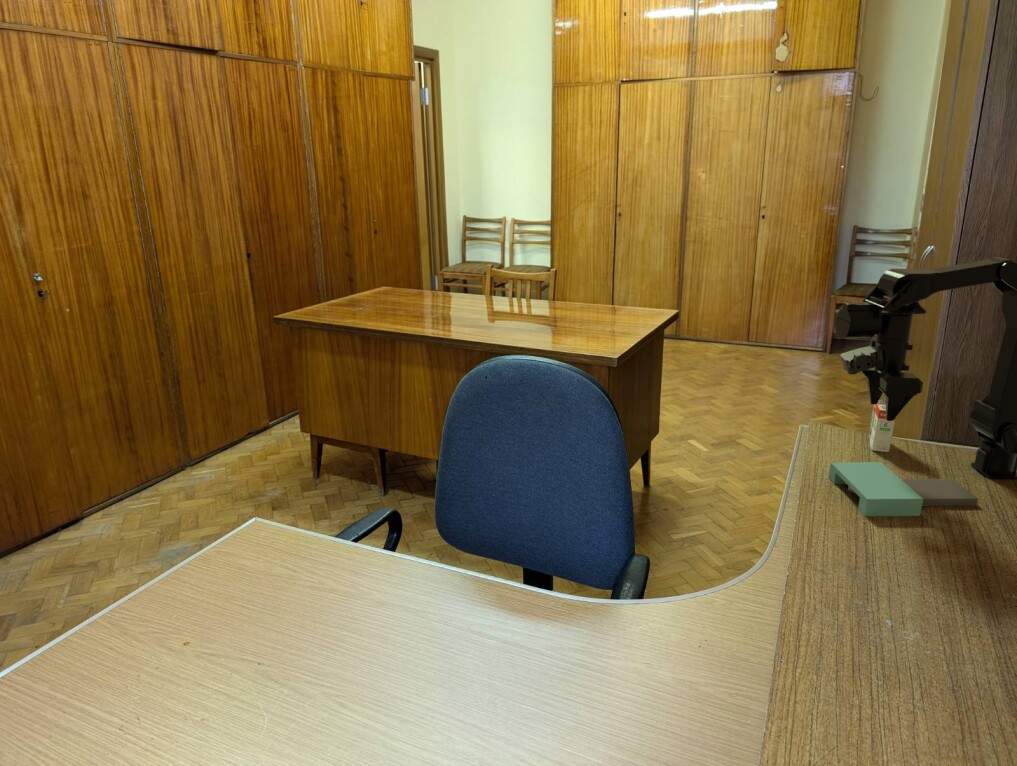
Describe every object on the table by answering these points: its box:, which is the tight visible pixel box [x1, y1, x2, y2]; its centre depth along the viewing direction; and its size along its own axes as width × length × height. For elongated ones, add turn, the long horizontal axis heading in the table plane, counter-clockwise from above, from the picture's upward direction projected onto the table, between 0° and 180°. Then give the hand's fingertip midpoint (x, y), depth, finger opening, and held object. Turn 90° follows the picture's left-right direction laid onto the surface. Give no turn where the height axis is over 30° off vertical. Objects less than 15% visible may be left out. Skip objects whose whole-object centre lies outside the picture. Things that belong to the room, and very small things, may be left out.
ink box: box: [867, 398, 896, 453], centre depth 152 cm, size 4×8×15 cm, turn 160°
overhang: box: [828, 461, 923, 517], centre depth 131 cm, size 10×15×4 cm, turn 179°
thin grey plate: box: [900, 478, 979, 507], centre depth 132 cm, size 11×8×2 cm
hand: (881, 412), depth 136 cm, fingers open, 9 cm apart
